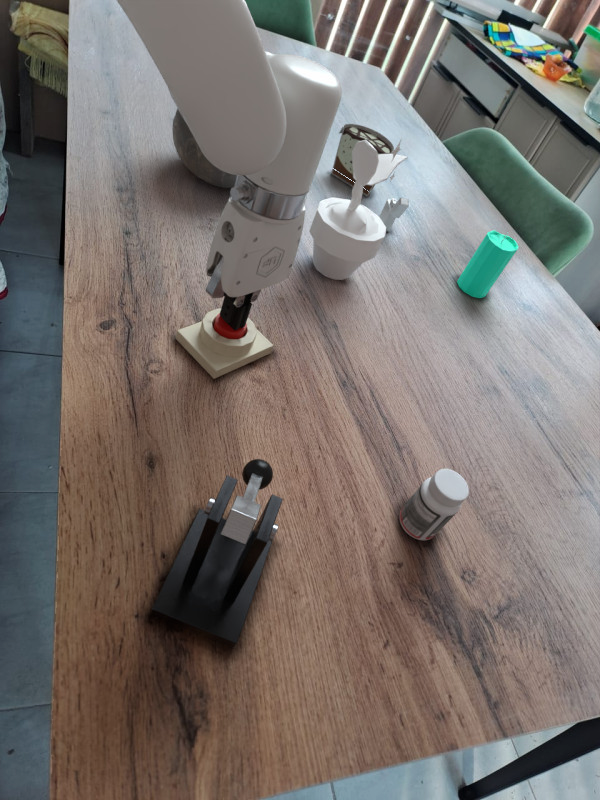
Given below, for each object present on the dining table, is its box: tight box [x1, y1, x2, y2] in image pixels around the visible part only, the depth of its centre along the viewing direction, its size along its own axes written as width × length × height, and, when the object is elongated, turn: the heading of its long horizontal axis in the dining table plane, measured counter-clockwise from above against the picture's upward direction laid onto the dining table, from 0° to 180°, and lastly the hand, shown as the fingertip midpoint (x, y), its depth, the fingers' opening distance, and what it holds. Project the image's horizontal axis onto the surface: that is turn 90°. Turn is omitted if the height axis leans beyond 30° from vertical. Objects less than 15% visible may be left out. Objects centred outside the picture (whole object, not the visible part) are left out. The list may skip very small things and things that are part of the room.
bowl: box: [172, 107, 237, 189], centre depth 99 cm, size 18×18×13 cm
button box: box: [175, 307, 274, 380], centre depth 74 cm, size 10×8×4 cm
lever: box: [221, 458, 274, 544], centre depth 51 cm, size 13×3×3 cm
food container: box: [331, 123, 395, 197], centre depth 117 cm, size 12×6×10 cm, turn 56°
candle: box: [456, 229, 519, 299], centre depth 102 cm, size 6×6×12 cm
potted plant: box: [308, 138, 408, 281], centre depth 87 cm, size 13×12×25 cm
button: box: [213, 313, 247, 339], centre depth 73 cm, size 4×4×2 cm
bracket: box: [150, 475, 284, 649], centre depth 49 cm, size 11×8×13 cm
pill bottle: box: [398, 468, 470, 541], centre depth 63 cm, size 5×5×8 cm
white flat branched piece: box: [378, 197, 410, 233], centre depth 107 cm, size 7×2×8 cm, turn 3°
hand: (231, 321), depth 72 cm, fingers closed
